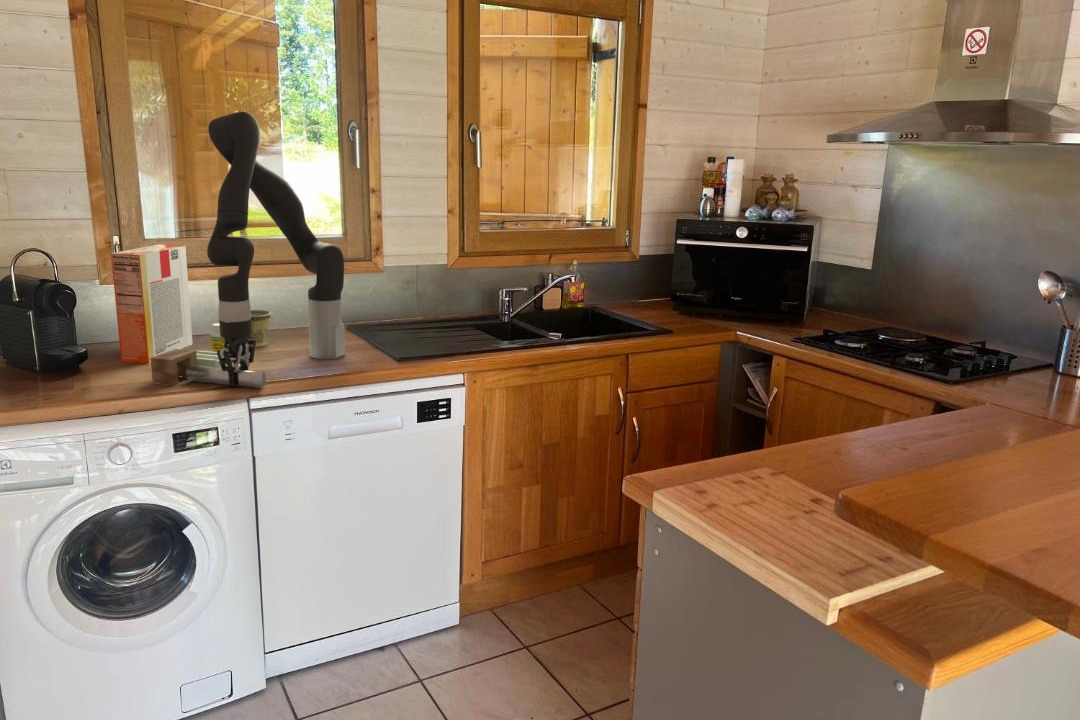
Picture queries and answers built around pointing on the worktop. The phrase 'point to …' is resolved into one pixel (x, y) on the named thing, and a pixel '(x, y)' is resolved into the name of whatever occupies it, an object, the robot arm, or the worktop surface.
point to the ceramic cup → (260, 326)
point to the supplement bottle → (216, 338)
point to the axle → (225, 376)
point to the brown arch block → (172, 365)
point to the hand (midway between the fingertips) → (239, 383)
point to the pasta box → (151, 301)
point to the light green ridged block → (208, 359)
